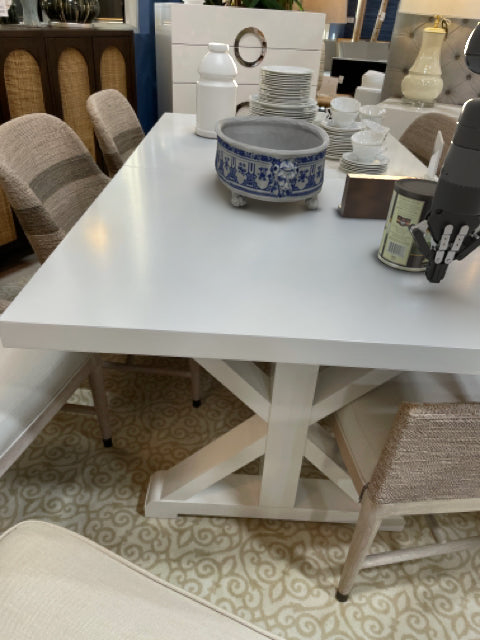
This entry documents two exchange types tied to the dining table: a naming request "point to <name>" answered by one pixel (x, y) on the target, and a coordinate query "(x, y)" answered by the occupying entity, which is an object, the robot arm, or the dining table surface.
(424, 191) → the coffee can
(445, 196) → the robot arm
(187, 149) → the dining table surface
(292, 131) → the decorative bowl
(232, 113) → the bottle
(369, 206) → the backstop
